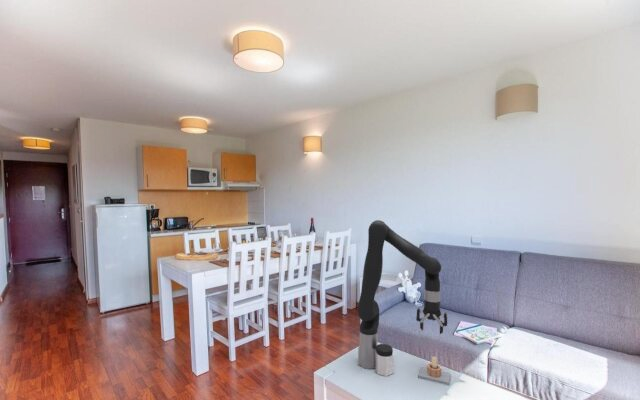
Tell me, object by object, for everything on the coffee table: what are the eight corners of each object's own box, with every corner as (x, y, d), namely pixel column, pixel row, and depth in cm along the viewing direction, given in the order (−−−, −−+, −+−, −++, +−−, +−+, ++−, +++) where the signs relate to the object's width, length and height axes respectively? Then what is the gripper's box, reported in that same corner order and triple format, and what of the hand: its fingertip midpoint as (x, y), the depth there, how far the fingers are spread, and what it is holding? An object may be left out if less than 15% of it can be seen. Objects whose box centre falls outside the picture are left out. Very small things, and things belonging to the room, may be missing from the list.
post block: (417, 377, 151) (418, 358, 150) (420, 368, 159) (420, 350, 159) (449, 385, 145) (449, 365, 144) (450, 375, 153) (450, 356, 153)
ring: (426, 375, 150) (426, 368, 150) (428, 369, 156) (428, 362, 156) (440, 378, 148) (440, 371, 148) (441, 372, 153) (441, 365, 153)
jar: (383, 378, 150) (383, 353, 150) (372, 370, 157) (372, 346, 157) (396, 372, 155) (396, 348, 155) (384, 365, 162) (384, 342, 162)
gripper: (415, 298, 153) (415, 331, 154) (447, 303, 147) (446, 337, 147) (418, 294, 160) (417, 325, 160) (448, 298, 154) (447, 331, 154)
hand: (431, 331), depth 154 cm, fingers open, 8 cm apart
